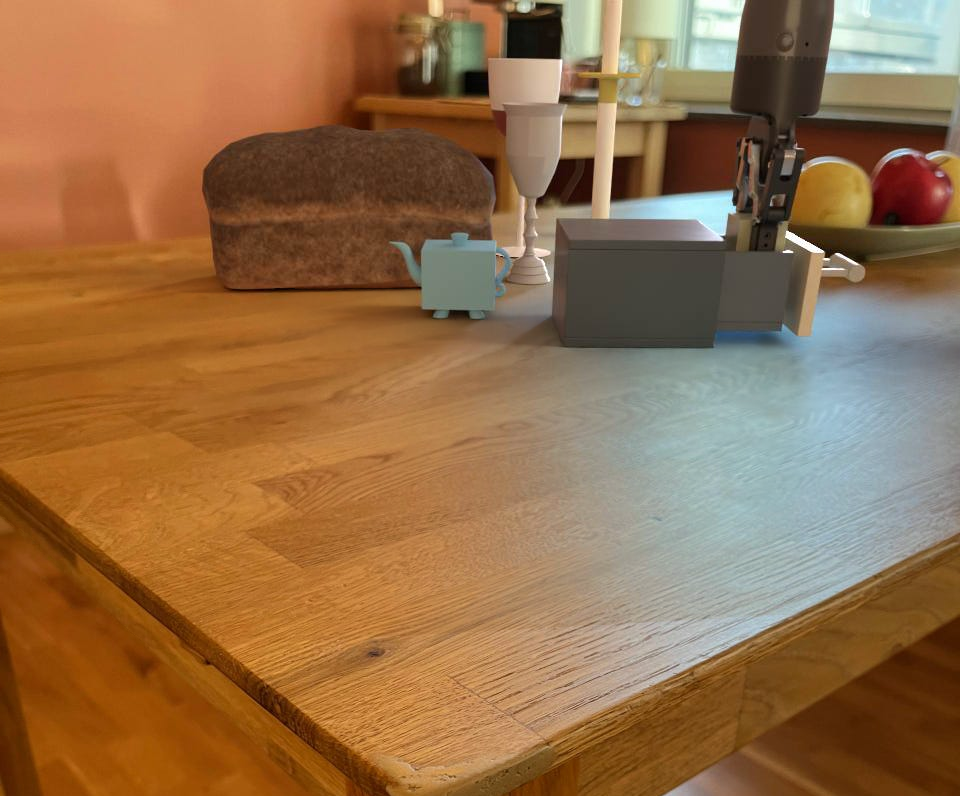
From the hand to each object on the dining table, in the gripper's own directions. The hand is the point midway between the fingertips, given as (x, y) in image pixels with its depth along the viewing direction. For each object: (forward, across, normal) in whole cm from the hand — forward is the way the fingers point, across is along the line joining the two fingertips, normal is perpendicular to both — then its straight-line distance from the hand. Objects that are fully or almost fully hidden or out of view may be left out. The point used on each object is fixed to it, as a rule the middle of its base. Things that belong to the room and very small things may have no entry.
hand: (751, 263), depth 94 cm
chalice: (+6, +24, +19) cm, 31 cm away
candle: (+6, +55, +7) cm, 56 cm away
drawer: (+5, 0, -1) cm, 5 cm away
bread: (+6, +24, +39) cm, 46 cm away
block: (0, 0, 0) cm, 0 cm away
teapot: (+6, +7, +28) cm, 30 cm away
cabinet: (+6, 0, +11) cm, 13 cm away
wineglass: (+6, +42, +19) cm, 47 cm away
